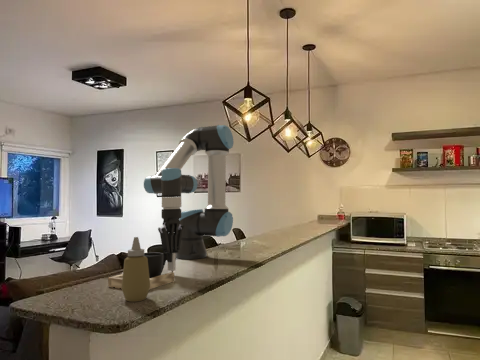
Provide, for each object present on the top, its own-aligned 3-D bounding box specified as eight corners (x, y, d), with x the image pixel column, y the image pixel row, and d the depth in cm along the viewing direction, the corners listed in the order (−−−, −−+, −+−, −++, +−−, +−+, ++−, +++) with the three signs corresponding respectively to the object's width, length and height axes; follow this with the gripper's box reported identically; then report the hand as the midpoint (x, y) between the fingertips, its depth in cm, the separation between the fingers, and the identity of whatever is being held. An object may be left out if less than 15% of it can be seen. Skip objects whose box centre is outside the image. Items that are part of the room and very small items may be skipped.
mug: (174, 277, 133) (174, 251, 134) (152, 284, 123) (152, 256, 123) (157, 275, 137) (157, 250, 138) (134, 282, 127) (134, 255, 127)
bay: (142, 277, 135) (142, 269, 135) (174, 281, 128) (174, 272, 128) (108, 286, 121) (108, 277, 121) (141, 291, 114) (141, 282, 114)
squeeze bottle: (117, 299, 106) (117, 237, 107) (142, 294, 111) (143, 235, 112) (128, 305, 100) (128, 239, 101) (155, 299, 105) (155, 237, 106)
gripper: (174, 207, 147) (174, 266, 146) (152, 208, 136) (152, 272, 134) (189, 207, 143) (189, 268, 142) (168, 208, 132) (168, 274, 131)
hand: (171, 270), depth 138 cm, fingers closed
